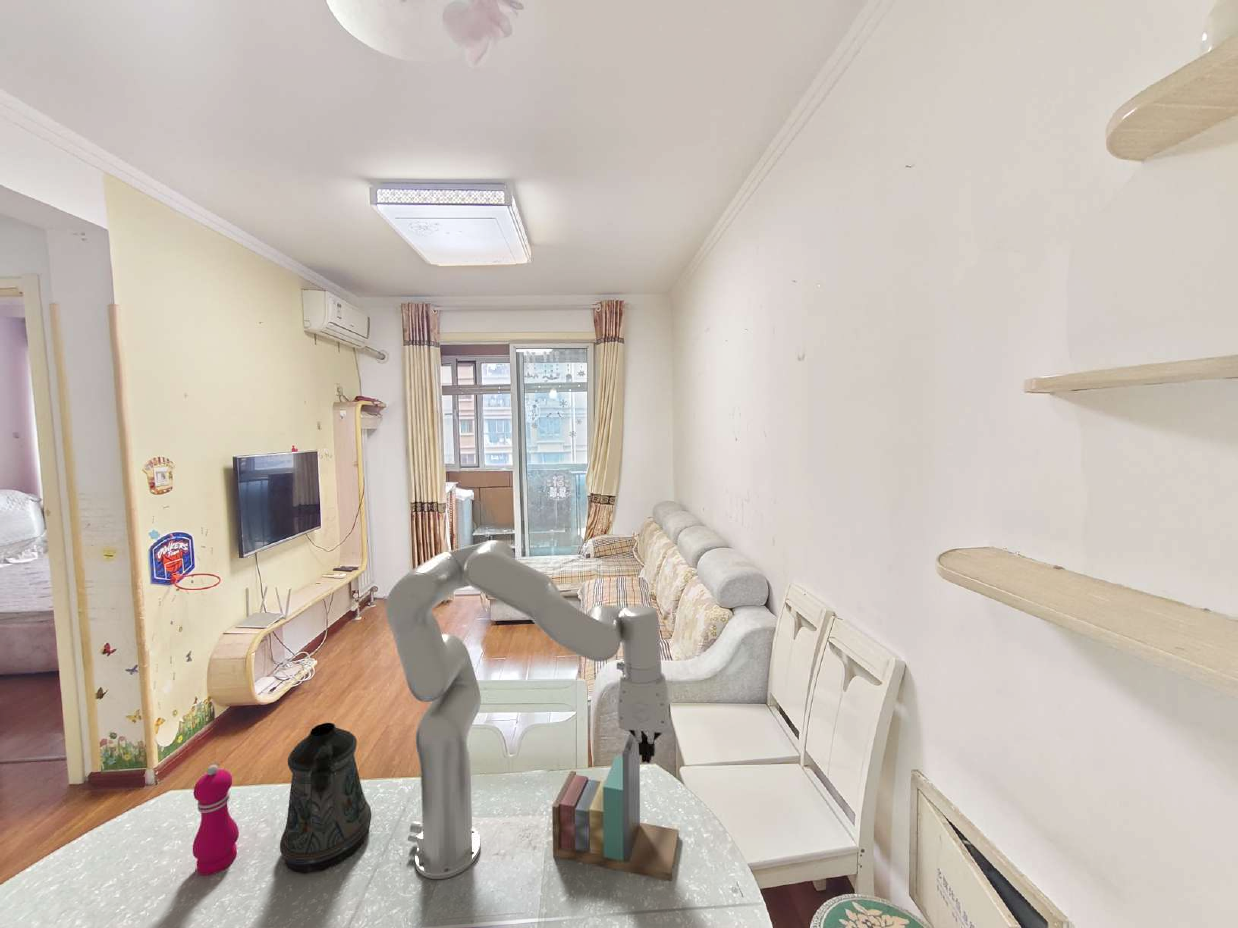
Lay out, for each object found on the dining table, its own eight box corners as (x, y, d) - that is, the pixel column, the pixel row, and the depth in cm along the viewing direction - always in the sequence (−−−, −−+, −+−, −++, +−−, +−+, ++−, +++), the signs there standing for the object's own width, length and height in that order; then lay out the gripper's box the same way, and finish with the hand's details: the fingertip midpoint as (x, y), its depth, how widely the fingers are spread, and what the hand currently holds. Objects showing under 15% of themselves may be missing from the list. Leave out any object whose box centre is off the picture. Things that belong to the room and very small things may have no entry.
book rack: (553, 855, 101) (552, 806, 101) (571, 815, 112) (570, 770, 111) (670, 881, 95) (670, 828, 95) (678, 836, 106) (678, 788, 106)
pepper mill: (185, 871, 98) (179, 773, 97) (224, 843, 105) (219, 751, 104) (209, 882, 96) (203, 781, 95) (248, 852, 103) (243, 758, 102)
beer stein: (347, 802, 117) (343, 697, 116) (395, 839, 106) (391, 724, 105) (266, 850, 103) (260, 733, 102) (311, 899, 92) (305, 768, 91)
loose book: (603, 856, 99) (603, 786, 98) (616, 819, 109) (616, 755, 108) (623, 861, 98) (622, 789, 97) (634, 822, 108) (634, 757, 107)
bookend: (623, 859, 98) (622, 752, 97) (634, 821, 108) (633, 724, 107) (629, 861, 98) (628, 753, 97) (639, 822, 108) (639, 724, 106)
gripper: (601, 676, 98) (606, 766, 99) (676, 681, 95) (681, 775, 96) (611, 659, 106) (616, 743, 107) (682, 663, 102) (686, 750, 103)
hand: (647, 758), depth 101 cm, fingers closed
